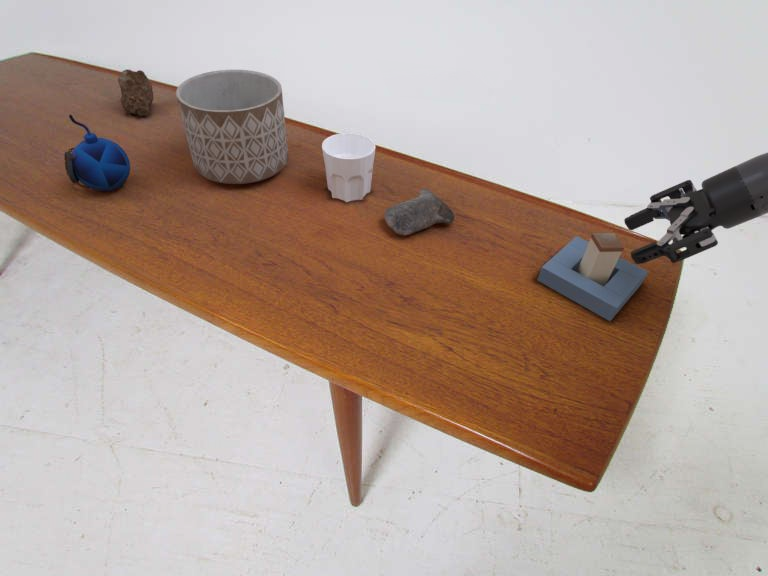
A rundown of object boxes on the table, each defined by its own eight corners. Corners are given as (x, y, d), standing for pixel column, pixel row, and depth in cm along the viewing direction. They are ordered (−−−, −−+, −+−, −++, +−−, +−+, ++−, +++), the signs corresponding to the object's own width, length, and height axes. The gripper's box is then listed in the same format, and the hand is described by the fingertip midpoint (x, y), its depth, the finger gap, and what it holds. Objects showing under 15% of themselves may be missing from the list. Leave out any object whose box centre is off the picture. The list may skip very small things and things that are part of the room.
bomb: (73, 181, 98) (40, 108, 88) (131, 169, 103) (106, 97, 92) (79, 207, 92) (44, 131, 82) (141, 193, 97) (115, 119, 86)
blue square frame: (641, 284, 84) (648, 271, 82) (609, 321, 77) (617, 308, 75) (571, 248, 90) (576, 235, 88) (537, 280, 83) (541, 267, 81)
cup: (380, 200, 98) (382, 155, 92) (331, 208, 96) (329, 162, 89) (365, 174, 105) (366, 130, 98) (318, 181, 102) (316, 136, 96)
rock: (142, 120, 118) (122, 76, 112) (124, 119, 121) (103, 77, 114) (170, 104, 124) (152, 62, 118) (152, 104, 127) (134, 63, 121)
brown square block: (604, 289, 82) (624, 247, 76) (582, 290, 82) (601, 248, 76) (595, 274, 85) (614, 232, 79) (574, 275, 85) (592, 233, 79)
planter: (177, 182, 100) (154, 102, 88) (221, 138, 114) (207, 64, 102) (267, 198, 97) (256, 117, 86) (302, 151, 111) (296, 76, 99)
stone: (380, 223, 97) (400, 252, 90) (374, 202, 94) (394, 230, 87) (435, 199, 99) (459, 225, 92) (431, 177, 95) (456, 203, 88)
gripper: (726, 144, 71) (613, 198, 80) (756, 198, 60) (623, 253, 70) (746, 182, 74) (634, 231, 83) (778, 240, 63) (647, 288, 73)
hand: (629, 241), depth 76 cm, fingers open, 8 cm apart
